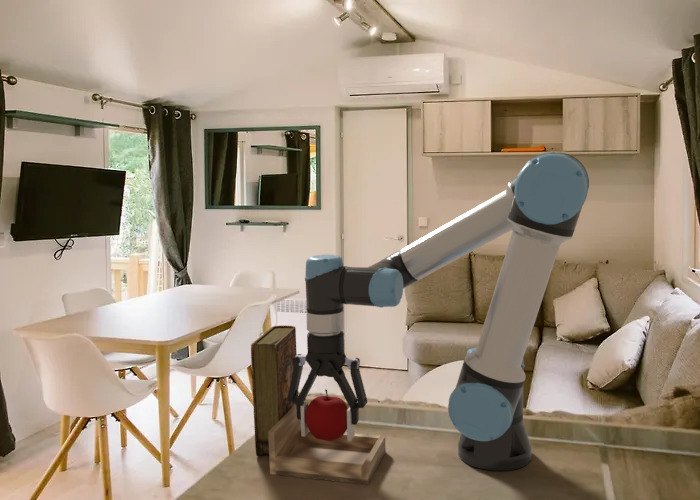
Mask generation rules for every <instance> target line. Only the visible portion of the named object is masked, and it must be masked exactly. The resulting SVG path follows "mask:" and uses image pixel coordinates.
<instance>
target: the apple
mask: <svg viewBox="0 0 700 500" xmlns="http://www.w3.org/2000/svg"><path fill="white" fill-rule="evenodd" d="M324 391H325V395H320V396H317V397H315V398H313V399H312V400H311V401H310V402H309V403H308V407H307V411H306V424H307V427H308V429H309V431H310V432H311V434H312V435H313V436H314V437H315V438H317V439H321V440H326V441H333V440H336V439H339V438H340V437H342V436H343V435H344V433H347V410H348V408H349V407H348V403H346V402H345V401H344V400H343V399H342V398H341V397H339V396H328V389H325V390H324Z"/></svg>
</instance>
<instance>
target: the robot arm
mask: <svg viewBox="0 0 700 500" xmlns="http://www.w3.org/2000/svg"><path fill="white" fill-rule="evenodd" d="M589 179H590V178H589V174H588V172H587V170H586V168H585V166H584V165H583V164H582V162H581V161H580V160H579V159H578V158H576V157H575V156H573V155H571V154H569V153H565V152H555V151H553V152H545V153H541V154H538V155H536V156H534V157H532V158H531V159H530V160H528V161H527V162H526V163H525V164H524V165H523V166H522V167H521V170H520V171H519V172H518V174H517V176H516V177H515V178H514V179H512V180H510V181H508V183H507V185H506V189H504V190H503V191H501V192H500V193H497V194H495V195H494V196H493V197H490V198H489V199H487V200H486V201H483V202H482V203H480V204H478V205H476V206H475V207H472V208H471V209H470V210H468V211H466V212H464V213H462V214H461V215H459V216H457V217H455V218H454V219H452V220H450V221H448V222H447V223H445V224H443V225H441V226H439V227H438V228H436V229H434V230H432V231H430V232H429V233H427V234H425V235H424V236H422V237H420V238H419V239H417V240H415V241H413V242H411V243H410V244H408V245H406V246H404V247H403V248H402V249H399V250H398V251H396V252H394V253H392V254H390V255H388V256H386V257H384V258H383V259H381V260H380V261H378V262H376V263H373V264H372V265H369V266H368V267H367V266H366V267H363V266H362V267H355V266H347V265H346V266H345V265H344V262H343V257H341V256H340V255H336V254H318V255H312V256H310V257H308V258H307V259H306V262H305V277H304V281H305V295H306V296H305V298H306V299H305V300H306V330H307V334H306V339H307V340H306V341H307V342H306V345H307V346H306V347H307V354H305V355H304V354H303V355H302V353H297V355H296V356H295V357H294V358H293V365H294V370H293V374H292V379H291V384H290V388H289V393H288V398H287V400H288V401H289V402H294V403H295V404H296V408H297V419H299V420H301V436H303V437H305V436H306V435H307V434H308V432H309V429H308V427H307V424H306V411H307V407H308V405H309V401H306V398H307V396H308V394H309V393H310V391H311V389H312V386H313V384H314V382H315V380H316V379H317V377H328V378H333V379H334V381H335V382H336V383H337V386H338V387H339V389H340V391H341V394H342V395H343V397H344V399H345V400H346V402H347V403H346V404H347V406H349V407H348V410H347V430H346V433H347V441H352V439H353V438H354V434H355V426H356V425H358V423H359V420H360V418H359V417H360V416H359V413H360V412H359V409H364V408H365V406H367V404H368V398H367V395H366V390H365V386H364V382H363V379H362V375H361V371H360V364H361V363H360V362H361V359H360V358H358V357H355V358H349V357H347V356H346V354H345V333H344V331H343V330H344V327H345V326H344V325H345V324H344V323H345V322H344V321H345V320H344V317H345V316H344V305H354V306H365V307H367V306H368V307H378V308H384V307H385V308H389V307H390V308H392V307H393V308H395V307H397V306H398V305H399V304H400V303H401V299H402V298H403V293H404V289H405V288H407V287H409V286H411V285H412V284H414V283H416V282H417V281H420V280H421V279H424V278H426V277H427V276H429V275H431V274H432V273H434V272H437V271H438V270H440V269H442V268H444V267H446V266H448V265H449V264H451V263H453V262H455V261H456V260H459V259H460V258H463V257H464V256H466V255H468V254H470V253H471V252H473V251H475V250H477V249H480V248H481V247H483V246H485V245H487V244H488V243H490V242H492V241H494V240H496V239H498V238H500V237H502V236H503V235H505V234H507V233H509V232H511V231H512V233H511V236H510V239H509V242H508V246H507V249H506V252H505V255H504V258H503V261H502V264H501V267H500V271H499V274H498V277H497V281H496V284H495V287H494V290H493V293H492V298H491V301H490V302H489V307H488V310H487V313H486V316H485V319H484V322H483V326H482V329H481V332H480V336H479V339H478V343H477V345H476V347H472V348H469V349H468V350H467V352H466V355H465V357H464V360H463V363H462V366H461V369H460V373H459V376H458V379H457V383H456V385H455V388H454V389H453V390H452V392H451V393H450V395H449V399H448V405H447V408H448V409H447V411H448V416H449V419H450V421H451V422H452V425H453V426H454V428H455V429H456V431H458V432H459V433H460V437H459V440H458V442H457V443H458V444H457V445H458V446H457V447H458V448H457V449H458V450H457V454H458V455H457V456H458V457H459V458H460V459H461V461H462V462H464V463H465V464H466V465H467V464H468V465H469V466H471V467H475V468H478V469H481V470H487V471H498V472H502V471H503V472H504V471H513V470H518V469H521V468H523V467H525V466H527V465H528V464H529V463H531V460H532V454H533V453H532V452H533V451H532V450H533V449H532V444H531V441H530V438H529V436H528V432H527V430H526V427H525V422H524V383H525V380H526V378H527V377H526V373H525V371H524V368H525V364H524V363H525V362H524V356H525V353H526V351H527V348H528V344H529V342H530V338H531V335H532V331H533V329H534V326H535V323H536V321H537V317H538V314H539V310H540V308H541V305H542V302H543V298H544V295H545V292H546V289H547V287H548V283H549V280H550V276H551V273H552V271H553V268H554V265H555V262H556V259H557V256H558V252H559V250H560V246H561V245H562V244H563V243H565V242H566V241H569V240H571V239H573V236H574V233H575V230H576V226H577V224H578V221H579V219H580V214H581V212H582V208H583V206H584V205H585V202H586V200H587V198H588V193H589V189H590V188H589V187H590V180H589ZM306 363H307V364H308V365H309V367H310V369H311V370H310V371H309V374H308V376H307V378H306V380H305V382H304V385H303V387H302V388H301V390H300V392H299V387H300V382H301V378H302V373H303V368H304V365H306ZM345 365H346V366H347V368H348V370H350V371H349V373H350V376H351V380H352V385H353V388H352V387H351V385H350V383H349V381H348V379H347V376H346V373H345V372H344V369H343V367H344V366H345ZM353 389H354V391H353ZM297 392H298V395H297Z"/></svg>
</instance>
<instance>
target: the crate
mask: <svg viewBox="0 0 700 500" xmlns="http://www.w3.org/2000/svg"><path fill="white" fill-rule="evenodd" d="M268 438H269V455H268V456H269V460H268V461H269V474H270V475H275V476H282V477H283V476H284V477H292V476H293V477H294V478H301V477H304V479H310V478H316V479H315V480H319V479H327V480H326V481H329V480H334V481H333V482H338V481H340V482H339V483H347V482H349V483H348V484H356V483H357V484H356V485H365V484H367V486H369V485H368V484H369V483H370V481H371V479H372V477H373V476H374V474H375V472H376V470H377V468H378V466H379V464H380V463H381V461H382V459H383V457H384V455H385V453H386V452H387V451H386V449H387V448H386V436H384V435H375V434H374V435H373V434H364V433H354V438H353V439H352V441H347V432H345V433H344V435H343V436H342V437H340V438H339V439H336V440H333V441H326V440H321V439H317V438H315V437H314V436H313V435H312V434H311V432H310V431H309V432H308V434H307V435H306V436H305V437H303V436H301V420H299V419H297V408H296V405H294V406H293V407H292V408H291V409H290V410H289V411H288V412H287V413H286V414H285V415H284V416H283V417H282V418H281V419H280V420H279V421H278V422H277V423H276V424H275V425H274V426H273V427H272V428H271V429H270V430H269V431H268Z"/></svg>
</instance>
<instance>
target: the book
mask: <svg viewBox="0 0 700 500" xmlns="http://www.w3.org/2000/svg"><path fill="white" fill-rule="evenodd" d="M296 329H297V327H296V326H294V325H293V326H292V325H273V326H271V327H270V328H269V329H267V331H266V332H264V333H263V334H262V335H260V336H259V337H258V338H257V339H255V340H254V341H253V342H252V343H251V344H250V359H251V360H250V361H251V362H250V363H251V382H252V400H253V401H252V402H253V404H252V405H253V424H254V440H255V441H254V443H255V455H256V457H260V456H269V438H268V431H269V430H270V429H271V428H272V427H273V426H274V425H275V424H276V423H277V422H278V421H279V420H280V419H281V418H282V417H283V416H284V415H285V414H286V413H287V412H288V411H289V410H290V409H291V408H292V407H293V406H294V405H296V404H295V403H294V402H289V401H288V400H287V398H288V393H289V388H290V384H291V379H292V374H293V370H294V365H293V358H294V357H295V356H296V355H298V353H297V336H296V335H297V334H296V333H297V331H296ZM297 395H298V396H299V391H298V392H297Z"/></svg>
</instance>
